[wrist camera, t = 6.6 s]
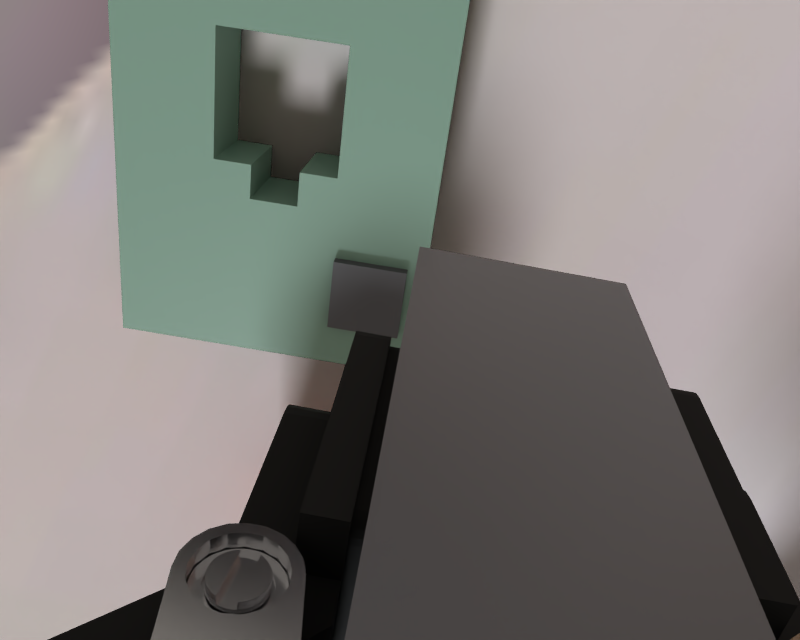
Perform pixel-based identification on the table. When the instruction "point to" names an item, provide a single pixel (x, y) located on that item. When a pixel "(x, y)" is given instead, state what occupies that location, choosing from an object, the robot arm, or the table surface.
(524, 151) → the table surface
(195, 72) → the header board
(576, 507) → the keyed plug
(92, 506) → the table surface
